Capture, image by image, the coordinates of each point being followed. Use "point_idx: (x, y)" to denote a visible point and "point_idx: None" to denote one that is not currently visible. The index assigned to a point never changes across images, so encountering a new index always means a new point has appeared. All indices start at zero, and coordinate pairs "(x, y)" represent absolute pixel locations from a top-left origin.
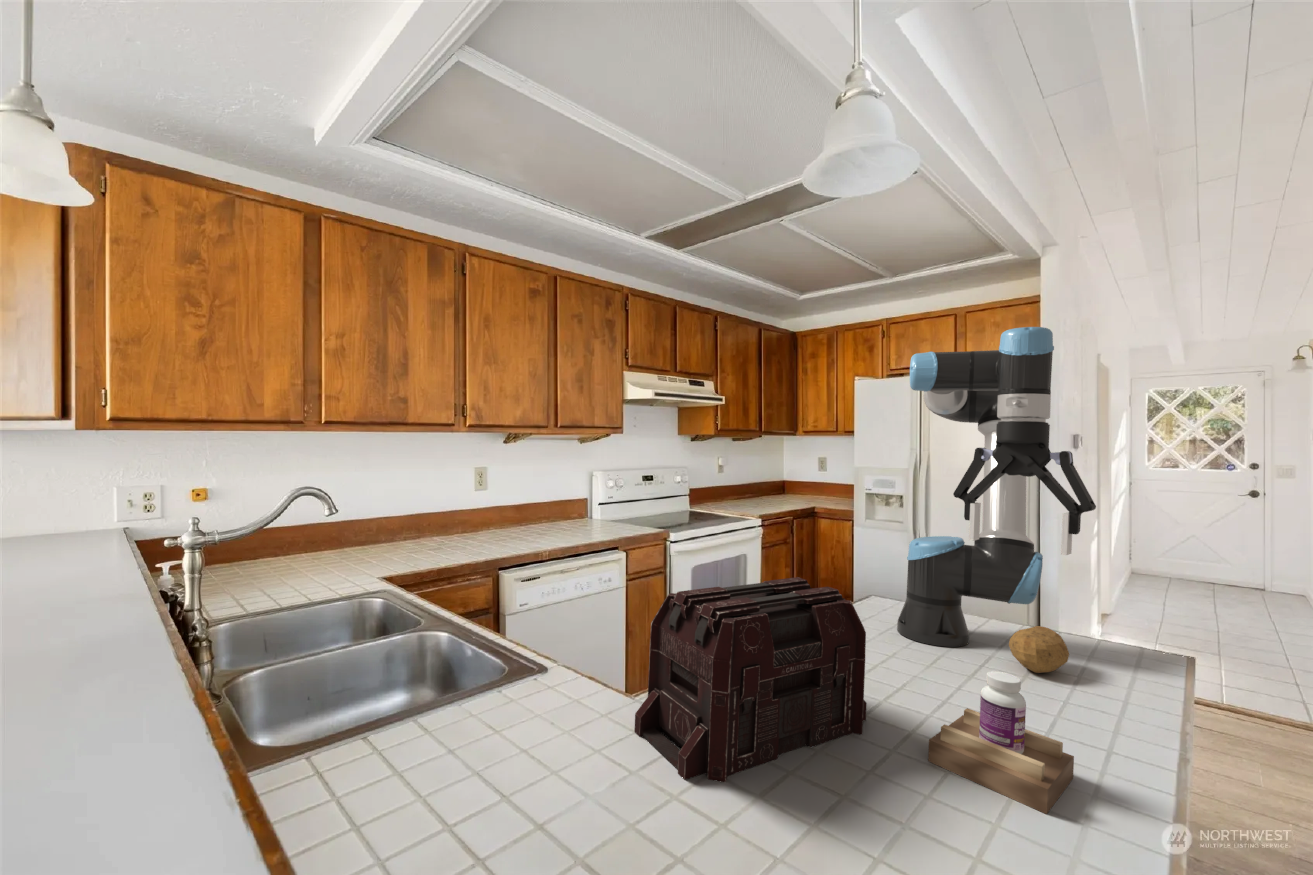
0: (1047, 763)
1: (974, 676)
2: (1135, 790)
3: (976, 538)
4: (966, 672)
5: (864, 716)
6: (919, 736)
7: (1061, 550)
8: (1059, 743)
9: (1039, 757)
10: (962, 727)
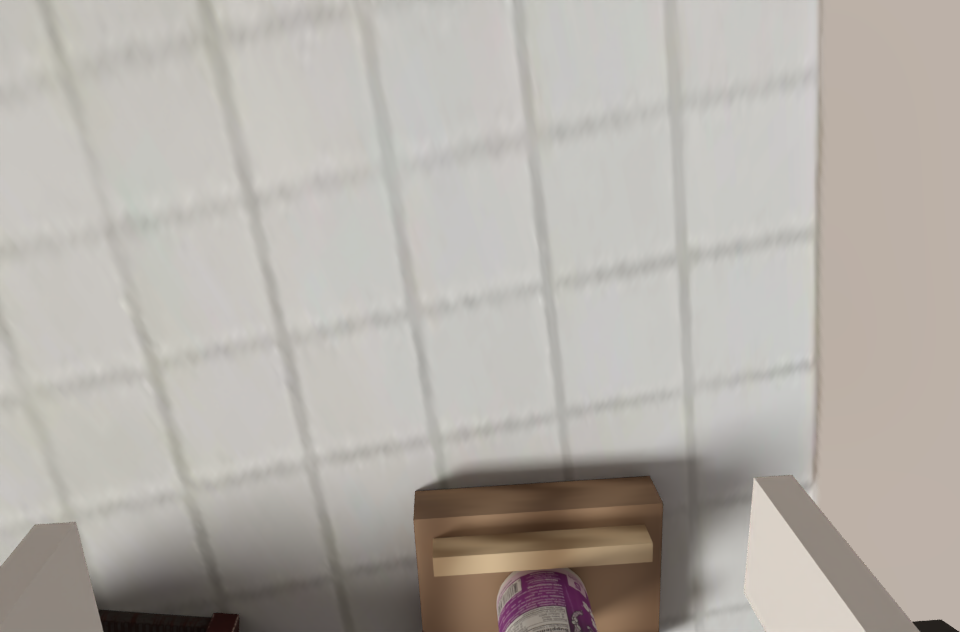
0: (631, 583)
1: (219, 20)
2: (750, 413)
3: (84, 587)
4: (180, 4)
5: (236, 627)
6: (359, 580)
7: (757, 613)
8: (648, 553)
9: (612, 572)
10: (444, 581)
